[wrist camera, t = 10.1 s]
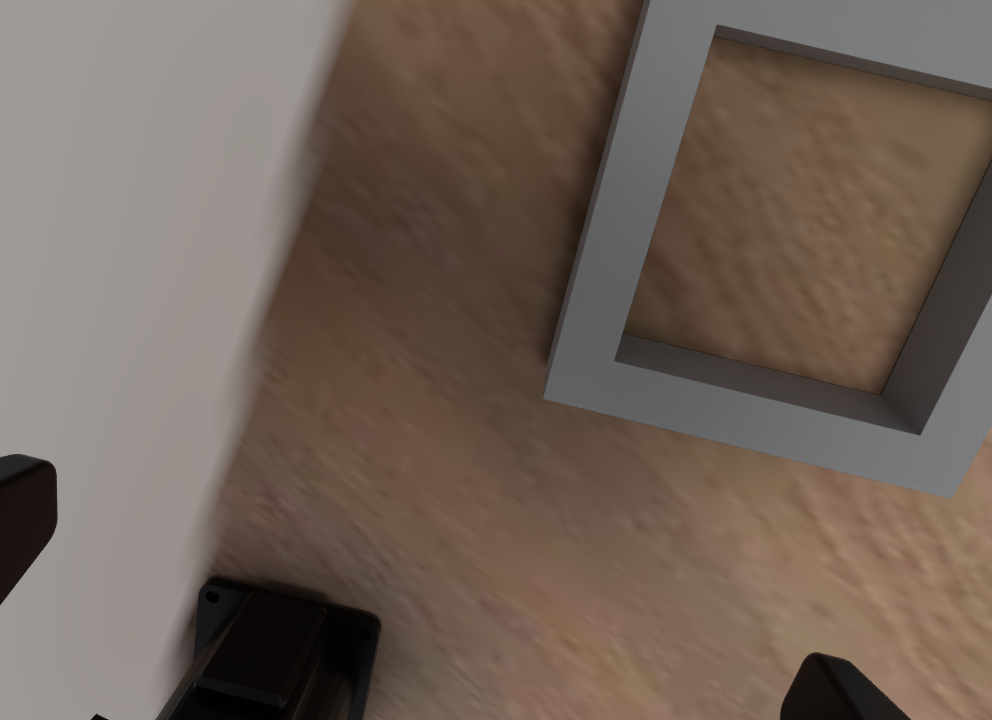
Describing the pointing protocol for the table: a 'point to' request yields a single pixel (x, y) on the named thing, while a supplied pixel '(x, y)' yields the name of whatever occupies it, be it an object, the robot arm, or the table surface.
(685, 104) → the dock board
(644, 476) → the table surface
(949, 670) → the table surface
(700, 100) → the table surface
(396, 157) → the table surface
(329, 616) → the robot arm
